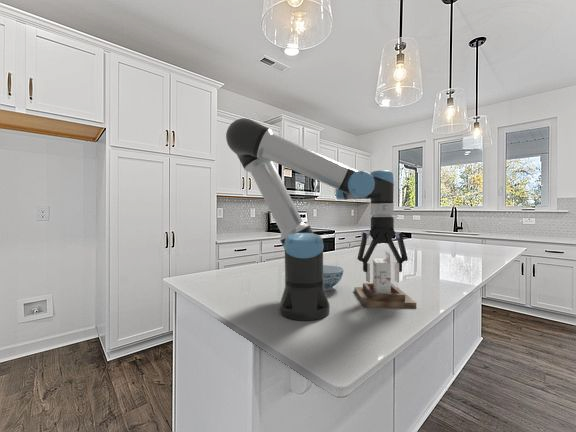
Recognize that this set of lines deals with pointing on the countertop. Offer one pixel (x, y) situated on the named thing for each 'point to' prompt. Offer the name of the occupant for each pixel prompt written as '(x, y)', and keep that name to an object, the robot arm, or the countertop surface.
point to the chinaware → (331, 276)
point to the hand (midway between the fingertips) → (382, 281)
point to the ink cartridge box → (382, 275)
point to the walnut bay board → (383, 297)
